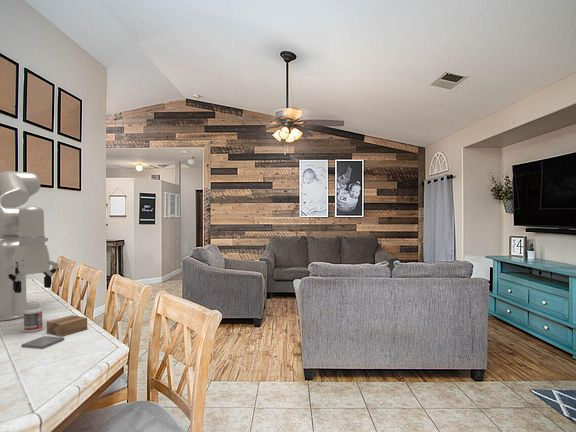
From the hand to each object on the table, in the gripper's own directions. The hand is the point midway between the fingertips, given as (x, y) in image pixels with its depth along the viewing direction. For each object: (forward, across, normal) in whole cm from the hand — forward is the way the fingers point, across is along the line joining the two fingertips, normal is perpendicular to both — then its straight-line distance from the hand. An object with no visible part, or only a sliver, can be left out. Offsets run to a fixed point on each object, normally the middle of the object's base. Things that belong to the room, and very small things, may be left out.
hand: (33, 290), depth 131 cm
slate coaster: (+15, +6, +17) cm, 23 cm away
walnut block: (+15, -5, +11) cm, 19 cm away
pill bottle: (+15, 0, -1) cm, 15 cm away
